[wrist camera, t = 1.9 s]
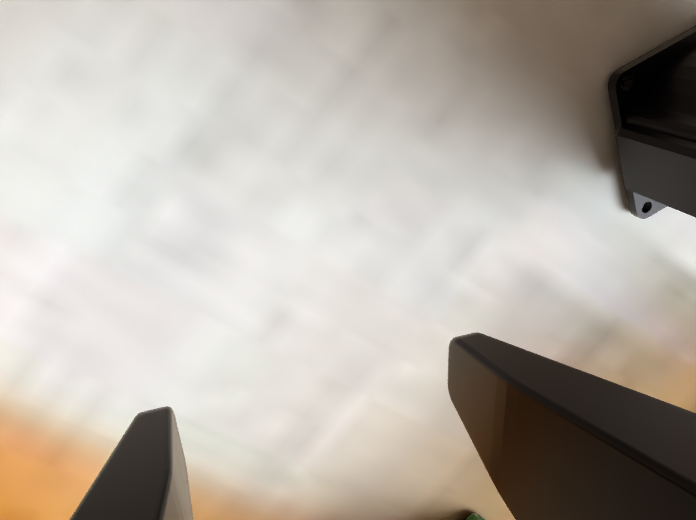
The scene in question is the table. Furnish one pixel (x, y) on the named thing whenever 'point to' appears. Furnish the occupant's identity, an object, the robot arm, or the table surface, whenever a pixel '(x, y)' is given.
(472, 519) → the chalk box
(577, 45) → the table surface
